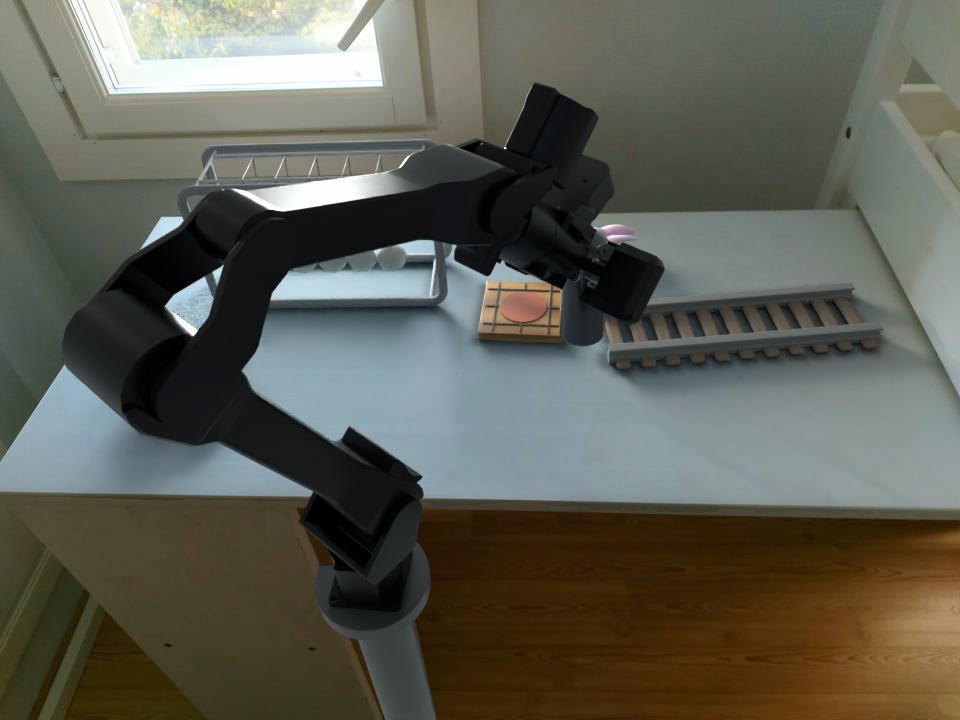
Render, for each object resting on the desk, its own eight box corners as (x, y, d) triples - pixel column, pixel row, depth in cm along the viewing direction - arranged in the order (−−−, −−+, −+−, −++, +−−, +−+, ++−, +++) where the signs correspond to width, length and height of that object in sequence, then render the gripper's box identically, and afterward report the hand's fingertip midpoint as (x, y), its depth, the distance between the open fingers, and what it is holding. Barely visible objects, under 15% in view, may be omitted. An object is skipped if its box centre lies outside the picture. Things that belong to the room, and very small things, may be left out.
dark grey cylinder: (612, 338, 79) (623, 239, 70) (571, 351, 77) (577, 252, 69) (590, 312, 82) (598, 214, 73) (551, 324, 81) (554, 226, 72)
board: (562, 343, 89) (562, 335, 88) (478, 339, 90) (477, 331, 89) (564, 290, 96) (565, 282, 95) (487, 287, 97) (486, 279, 96)
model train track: (883, 349, 86) (889, 336, 84) (611, 372, 85) (612, 359, 83) (841, 288, 94) (846, 275, 92) (593, 308, 93) (594, 295, 92)
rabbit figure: (527, 279, 100) (641, 260, 98) (519, 243, 96) (637, 222, 94) (525, 251, 105) (633, 232, 102) (517, 216, 100) (630, 195, 98)
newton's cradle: (215, 310, 96) (169, 189, 84) (237, 261, 104) (198, 143, 91) (448, 307, 94) (436, 182, 82) (453, 258, 102) (443, 137, 90)
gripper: (668, 177, 57) (714, 234, 70) (482, 112, 66) (553, 174, 80) (602, 309, 58) (659, 341, 72) (428, 227, 67) (507, 269, 81)
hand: (592, 275), depth 76 cm, fingers closed on dark grey cylinder, 5 cm apart
